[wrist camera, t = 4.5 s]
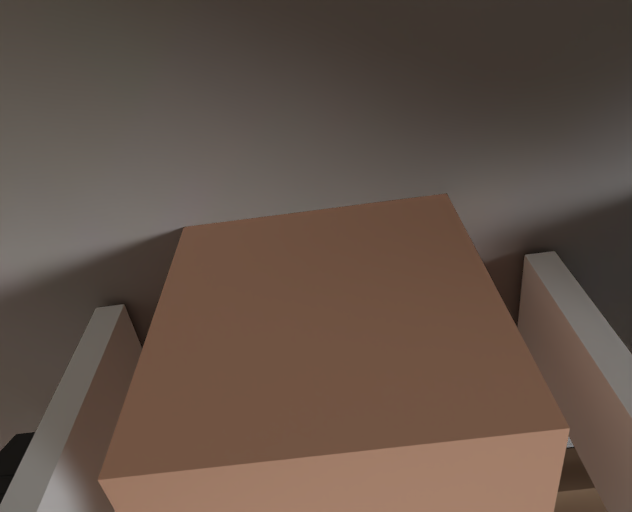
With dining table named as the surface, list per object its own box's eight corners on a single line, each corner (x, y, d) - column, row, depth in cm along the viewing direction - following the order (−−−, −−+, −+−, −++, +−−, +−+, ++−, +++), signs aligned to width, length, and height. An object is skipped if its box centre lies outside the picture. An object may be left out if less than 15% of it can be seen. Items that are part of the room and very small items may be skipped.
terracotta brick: (184, 225, 13) (97, 479, 7) (445, 192, 13) (569, 428, 7) (237, 404, 17) (206, 673, 11) (444, 380, 17) (528, 642, 11)
